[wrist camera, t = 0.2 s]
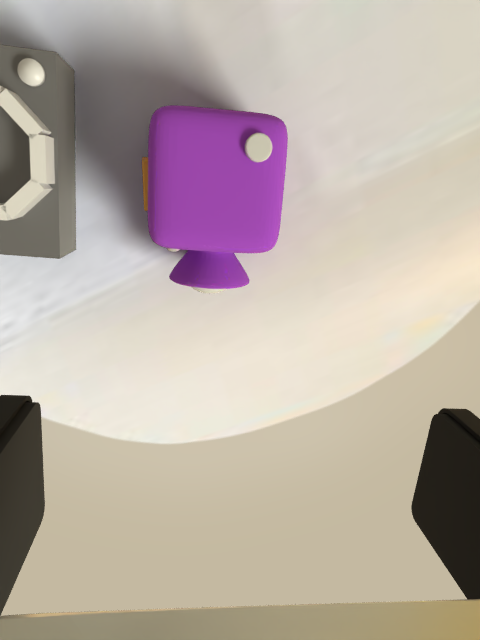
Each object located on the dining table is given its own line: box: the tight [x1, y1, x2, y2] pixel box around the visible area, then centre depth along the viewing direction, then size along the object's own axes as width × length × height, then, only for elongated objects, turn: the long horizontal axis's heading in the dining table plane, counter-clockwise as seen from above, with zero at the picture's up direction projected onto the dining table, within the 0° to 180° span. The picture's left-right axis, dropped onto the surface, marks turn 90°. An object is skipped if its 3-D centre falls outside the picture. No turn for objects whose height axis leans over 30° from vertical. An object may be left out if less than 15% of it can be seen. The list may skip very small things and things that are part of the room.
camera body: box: [0, 45, 76, 259], centre depth 33 cm, size 14×9×7 cm, turn 174°
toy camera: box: [142, 105, 288, 294], centre depth 34 cm, size 11×14×10 cm
